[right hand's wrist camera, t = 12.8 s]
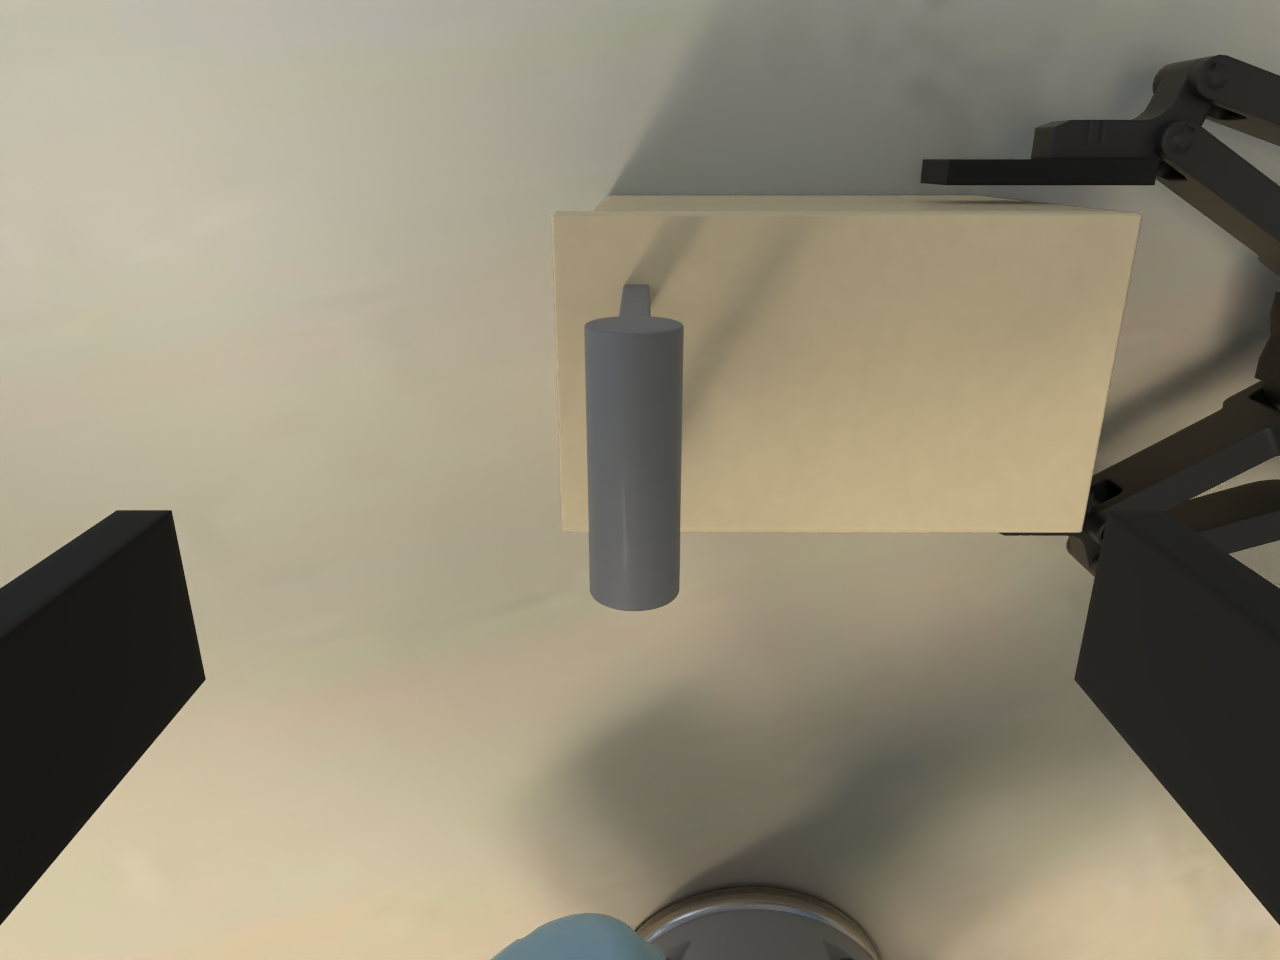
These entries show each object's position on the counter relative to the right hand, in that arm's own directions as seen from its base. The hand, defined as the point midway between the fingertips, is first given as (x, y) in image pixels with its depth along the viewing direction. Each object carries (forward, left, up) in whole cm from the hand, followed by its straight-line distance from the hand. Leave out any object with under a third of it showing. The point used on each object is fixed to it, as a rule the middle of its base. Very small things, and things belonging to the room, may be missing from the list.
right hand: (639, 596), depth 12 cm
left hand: (+6, -8, -19) cm, 21 cm away
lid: (+3, -4, -14) cm, 15 cm away
